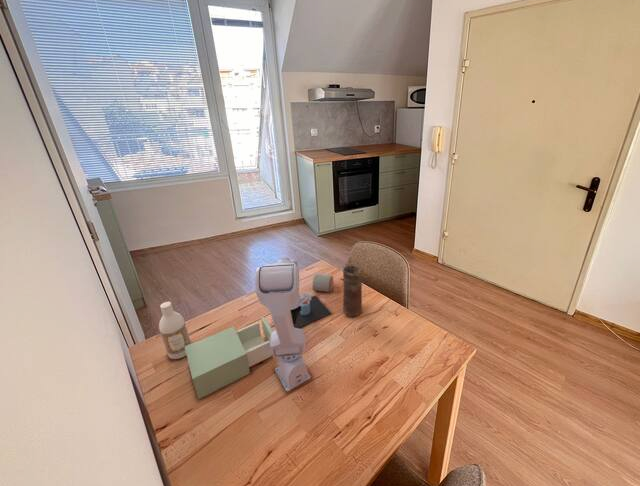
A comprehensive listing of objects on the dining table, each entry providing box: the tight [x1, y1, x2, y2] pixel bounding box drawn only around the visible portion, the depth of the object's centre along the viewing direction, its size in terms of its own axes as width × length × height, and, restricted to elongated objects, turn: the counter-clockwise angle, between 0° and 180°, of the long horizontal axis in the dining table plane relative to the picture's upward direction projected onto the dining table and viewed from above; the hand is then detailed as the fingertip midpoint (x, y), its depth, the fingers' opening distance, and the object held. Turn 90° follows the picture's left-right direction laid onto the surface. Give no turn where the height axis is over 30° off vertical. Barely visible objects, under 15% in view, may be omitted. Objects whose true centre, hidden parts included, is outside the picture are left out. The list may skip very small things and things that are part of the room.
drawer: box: [236, 316, 275, 368], centre depth 98 cm, size 18×12×7 cm
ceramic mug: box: [312, 272, 334, 293], centre depth 131 cm, size 11×8×8 cm
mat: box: [293, 295, 332, 329], centre depth 117 cm, size 13×16×1 cm
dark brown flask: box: [342, 265, 363, 318], centre depth 115 cm, size 8×7×20 cm
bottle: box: [300, 300, 310, 315], centre depth 116 cm, size 4×4×6 cm
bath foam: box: [158, 301, 192, 360], centre depth 94 cm, size 7×7×20 cm
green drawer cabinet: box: [185, 326, 251, 400], centre depth 91 cm, size 15×14×9 cm
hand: (292, 322), depth 104 cm, fingers closed
